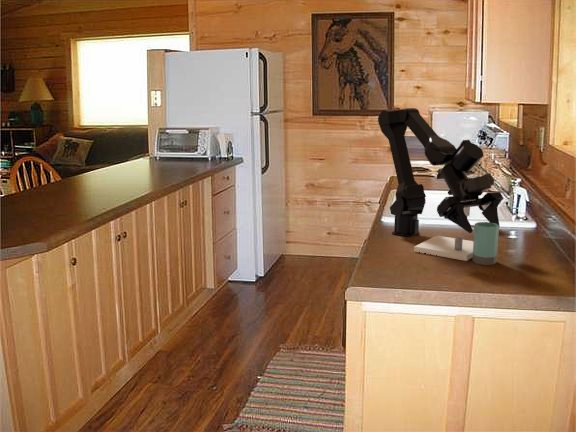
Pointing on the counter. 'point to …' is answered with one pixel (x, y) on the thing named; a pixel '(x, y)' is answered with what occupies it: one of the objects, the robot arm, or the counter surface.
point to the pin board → (447, 247)
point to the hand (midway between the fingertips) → (484, 230)
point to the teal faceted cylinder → (485, 243)
